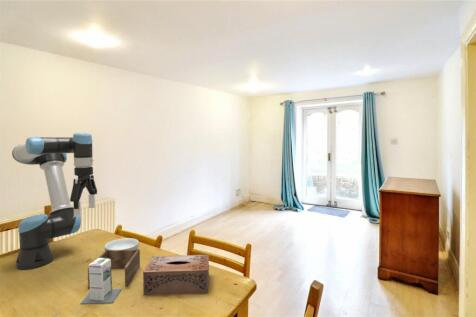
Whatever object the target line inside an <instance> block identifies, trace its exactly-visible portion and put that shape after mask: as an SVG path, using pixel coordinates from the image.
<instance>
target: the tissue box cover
mask: <svg viewBox="0 0 476 317" xmlns="http://www.w3.org/2000/svg"><path fill="white" fill-rule="evenodd" d="M209 256H210V255H209V254H194V255H193V254H191V255H190V254H188V255H184V254H183V255H154V256H153V255H152V256H151V257H150V259H149V261H148V263H147V264H146V266H145V268H144V270H143V272H142V282H143V283H142V284H143V286H142V287H143V289H142V290H143V296H161V295H162V296H165V295H167V296H168V295H187V294H189V295H191V294H208V292H209V277H210V276H209V275H210V274H209V273H210V271H209V270H210V262H209V260H210V259H209Z"/></svg>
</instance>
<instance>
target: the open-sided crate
mask: <svg viewBox="0 0 476 317" xmlns="http://www.w3.org/2000/svg"><path fill="white" fill-rule="evenodd" d="M140 255H141V254H140V249H139V248H138V249H133V250H105V249H104V251H103V253H102V254H100V255H99V256H98V257H97V258H96V259H95V260H97V259H98V258H109V259H111V270H113V269H114V270H116V269H118V270H120V269H122V270H123V269H124V287H125V289H127V288H129V286H130V284H131V283H132V281H133V279H134V278H135V277H136V275H137V272H138V271H139V269H140V267H141V256H140ZM87 286H88V288H87V289H88V290H90V281H89V266H88V267H87Z"/></svg>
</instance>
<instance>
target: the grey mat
mask: <svg viewBox="0 0 476 317" xmlns="http://www.w3.org/2000/svg"><path fill="white" fill-rule="evenodd" d="M121 291H122V288H112V293H111V294H110V295H109V296H108V297H107V298H106V299H105V300H104V301H100V300H91V299H90V291H89V292H88V294H86V296H85V297H84V298H83V299H82V301H81V302H80V303H79V304H80V305H96V304H99V305H100V304H101V305H102V304H113V303H114V302H115V300H116V299H117V298H118V296H119V294H120V293H121Z"/></svg>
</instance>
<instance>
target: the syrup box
mask: <svg viewBox="0 0 476 317" xmlns="http://www.w3.org/2000/svg"><path fill="white" fill-rule="evenodd" d="M97 258H98V257H97ZM97 258H96V259H97ZM96 259H95V260H94V261H92V262H91V263H88V267H89V281H90V289H89V292H90V299H91V300H100V301H104V300H105V299H106V298H107V297H108V296H109V295H110V294H111V293H112V289H113V282H112V280H113V277H112V269H111V259H109V258H98V259H97V260H96Z"/></svg>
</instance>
